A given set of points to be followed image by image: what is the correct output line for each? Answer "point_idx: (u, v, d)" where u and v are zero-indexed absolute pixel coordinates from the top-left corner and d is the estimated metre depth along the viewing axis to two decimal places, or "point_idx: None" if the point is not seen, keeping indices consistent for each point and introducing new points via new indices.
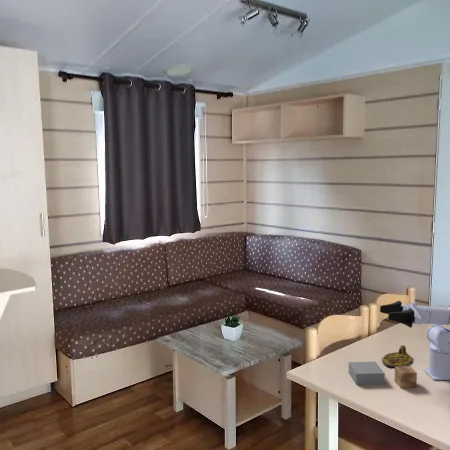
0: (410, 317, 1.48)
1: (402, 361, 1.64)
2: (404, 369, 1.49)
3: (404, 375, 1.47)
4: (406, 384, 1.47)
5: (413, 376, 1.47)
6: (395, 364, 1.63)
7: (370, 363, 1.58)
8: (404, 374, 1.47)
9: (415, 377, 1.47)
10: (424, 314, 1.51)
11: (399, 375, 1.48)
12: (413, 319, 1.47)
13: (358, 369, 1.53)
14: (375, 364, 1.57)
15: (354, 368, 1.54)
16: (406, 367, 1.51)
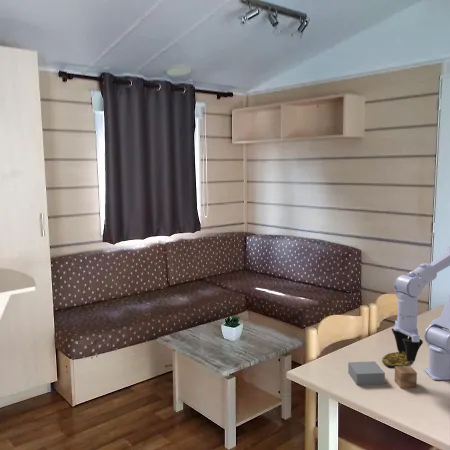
0: None
1: (402, 361, 1.64)
2: (404, 369, 1.49)
3: (404, 375, 1.47)
4: (406, 384, 1.47)
5: (413, 376, 1.47)
6: (395, 364, 1.63)
7: (370, 363, 1.58)
8: (404, 374, 1.47)
9: (415, 377, 1.47)
10: (407, 322, 1.45)
11: (399, 375, 1.48)
12: None
13: (358, 369, 1.53)
14: (375, 364, 1.57)
15: (354, 368, 1.54)
16: (406, 367, 1.51)
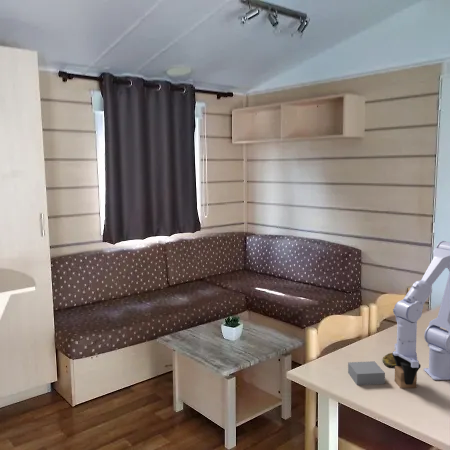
0: None
1: None
2: None
3: None
4: None
5: None
6: (395, 364, 1.63)
7: (370, 362, 1.58)
8: None
9: (415, 377, 1.47)
10: (406, 347, 1.46)
11: (399, 375, 1.48)
12: None
13: (358, 369, 1.53)
14: (375, 364, 1.57)
15: (354, 368, 1.54)
16: None
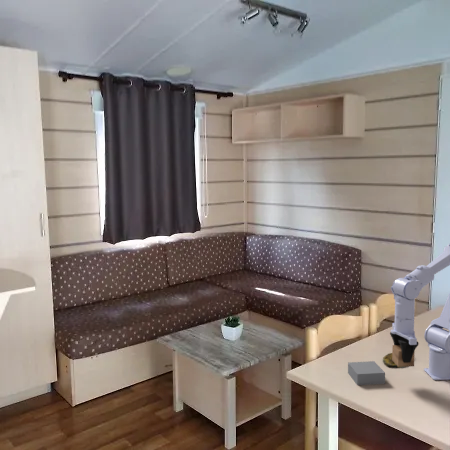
0: None
1: None
2: None
3: (401, 353, 1.47)
4: (403, 362, 1.47)
5: None
6: None
7: (370, 362, 1.58)
8: None
9: (413, 355, 1.47)
10: (404, 325, 1.45)
11: (397, 353, 1.48)
12: None
13: (358, 369, 1.53)
14: (374, 364, 1.57)
15: (354, 368, 1.54)
16: None
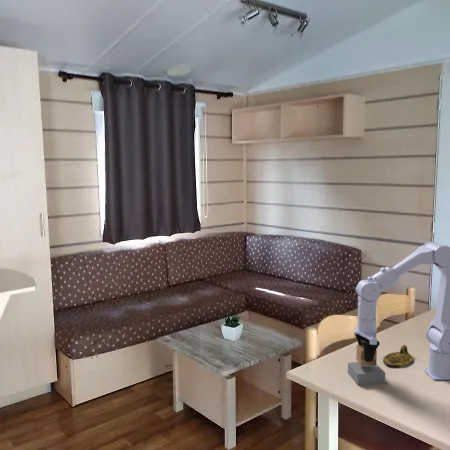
0: None
1: (403, 361, 1.64)
2: None
3: None
4: None
5: None
6: (396, 364, 1.63)
7: None
8: None
9: (375, 355, 1.51)
10: (366, 325, 1.50)
11: (360, 353, 1.52)
12: None
13: (358, 369, 1.53)
14: None
15: (354, 368, 1.54)
16: None
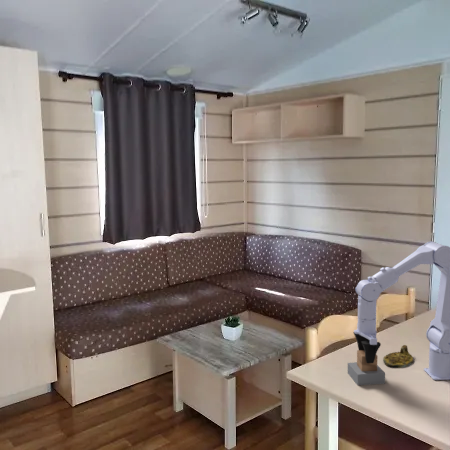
0: None
1: (403, 361, 1.64)
2: None
3: (365, 358, 1.51)
4: (367, 367, 1.52)
5: None
6: (396, 364, 1.63)
7: None
8: None
9: (376, 360, 1.52)
10: (366, 325, 1.50)
11: (360, 358, 1.52)
12: None
13: (358, 369, 1.53)
14: None
15: (354, 369, 1.54)
16: None
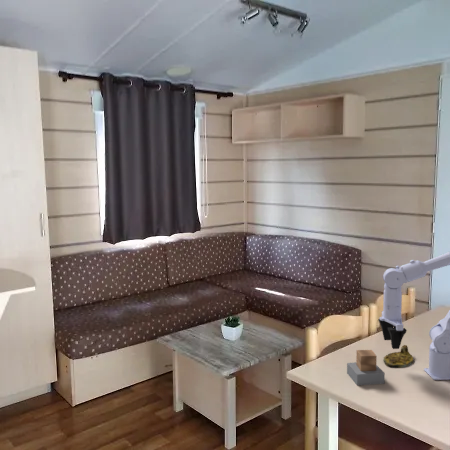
0: None
1: (403, 361, 1.64)
2: (364, 353, 1.54)
3: (364, 358, 1.52)
4: (366, 366, 1.52)
5: (373, 359, 1.52)
6: (396, 364, 1.63)
7: None
8: (364, 357, 1.52)
9: (375, 360, 1.52)
10: (392, 312, 1.55)
11: (359, 358, 1.53)
12: None
13: (358, 369, 1.53)
14: None
15: (354, 369, 1.54)
16: (368, 350, 1.56)
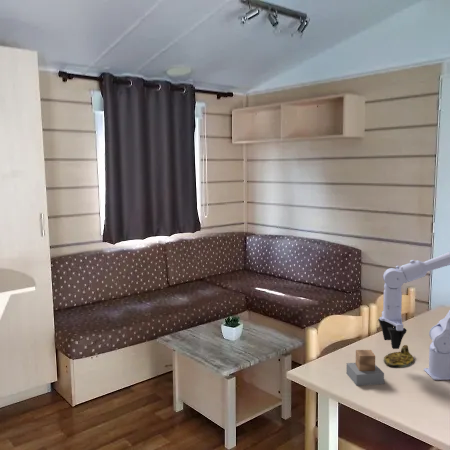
0: None
1: (404, 361, 1.64)
2: (363, 353, 1.54)
3: (363, 358, 1.52)
4: (365, 366, 1.52)
5: (372, 359, 1.52)
6: (396, 364, 1.63)
7: None
8: (363, 357, 1.52)
9: (374, 360, 1.52)
10: (392, 312, 1.55)
11: (358, 358, 1.53)
12: None
13: (357, 370, 1.53)
14: None
15: (353, 369, 1.53)
16: (367, 350, 1.56)
